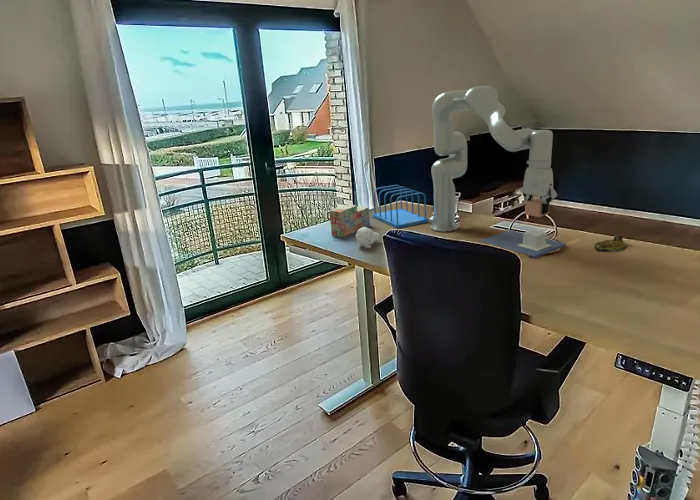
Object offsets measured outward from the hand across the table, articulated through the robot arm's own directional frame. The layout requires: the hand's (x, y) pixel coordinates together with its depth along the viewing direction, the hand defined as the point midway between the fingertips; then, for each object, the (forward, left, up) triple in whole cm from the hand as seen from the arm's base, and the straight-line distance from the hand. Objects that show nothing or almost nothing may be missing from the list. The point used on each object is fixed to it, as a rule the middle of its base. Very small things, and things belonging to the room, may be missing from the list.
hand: (536, 211), depth 180 cm
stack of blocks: (-73, -38, -15) cm, 83 cm away
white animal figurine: (-49, -44, -15) cm, 68 cm away
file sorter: (-70, -10, -15) cm, 73 cm away
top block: (0, 0, -1) cm, 1 cm away
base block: (0, 0, -14) cm, 14 cm away
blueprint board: (-6, 0, -15) cm, 16 cm away
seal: (+18, +20, -15) cm, 31 cm away
